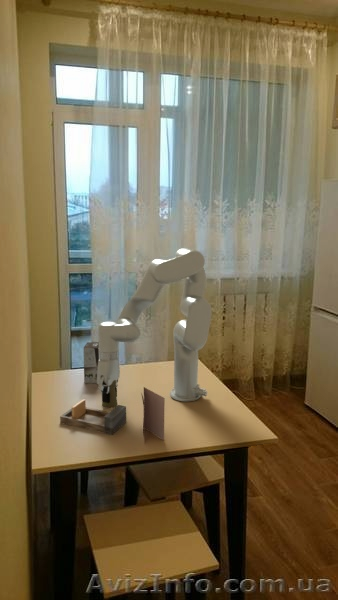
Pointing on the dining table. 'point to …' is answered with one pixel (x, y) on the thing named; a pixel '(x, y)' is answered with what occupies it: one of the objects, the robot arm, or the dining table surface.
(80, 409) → the pusher
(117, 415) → the lane
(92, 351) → the coffee box
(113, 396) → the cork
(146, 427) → the greeting card
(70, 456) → the dining table surface
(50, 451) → the dining table surface
